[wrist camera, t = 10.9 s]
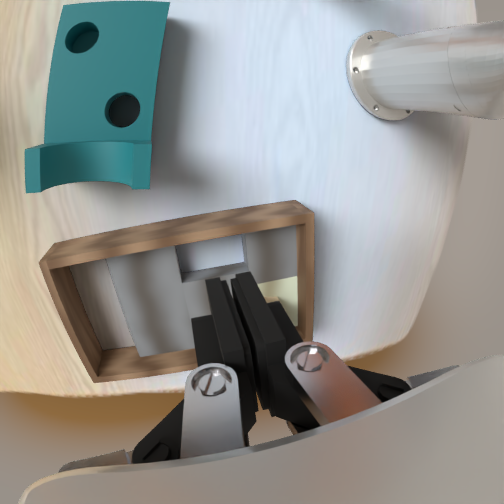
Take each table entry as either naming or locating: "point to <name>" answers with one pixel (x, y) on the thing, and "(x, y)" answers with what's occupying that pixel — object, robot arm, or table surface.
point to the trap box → (181, 283)
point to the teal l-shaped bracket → (99, 95)
